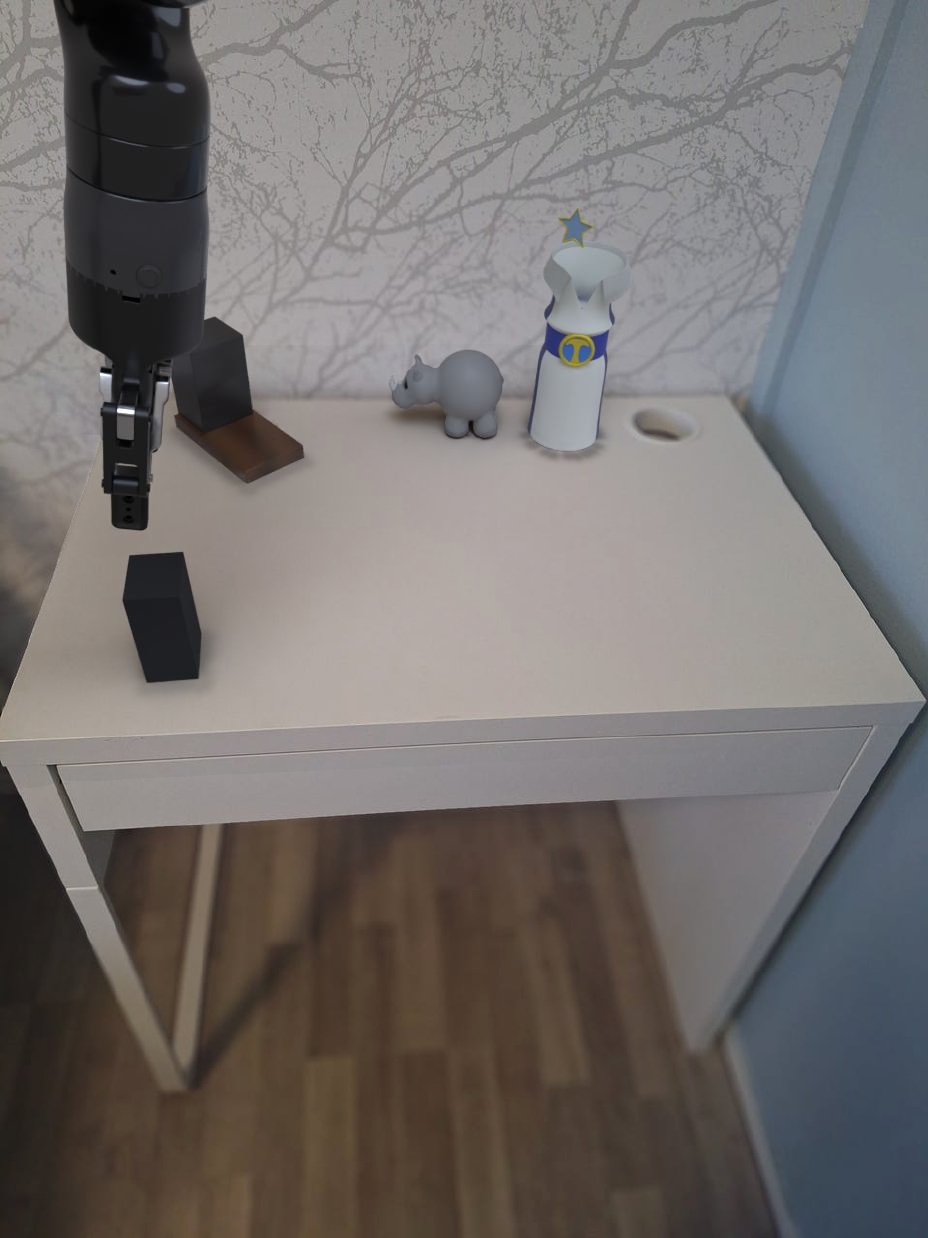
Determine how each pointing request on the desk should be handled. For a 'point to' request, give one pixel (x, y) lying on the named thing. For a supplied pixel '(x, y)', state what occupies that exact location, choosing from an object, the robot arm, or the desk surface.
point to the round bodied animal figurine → (455, 391)
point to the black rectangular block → (163, 616)
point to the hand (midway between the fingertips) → (136, 486)
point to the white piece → (576, 338)
